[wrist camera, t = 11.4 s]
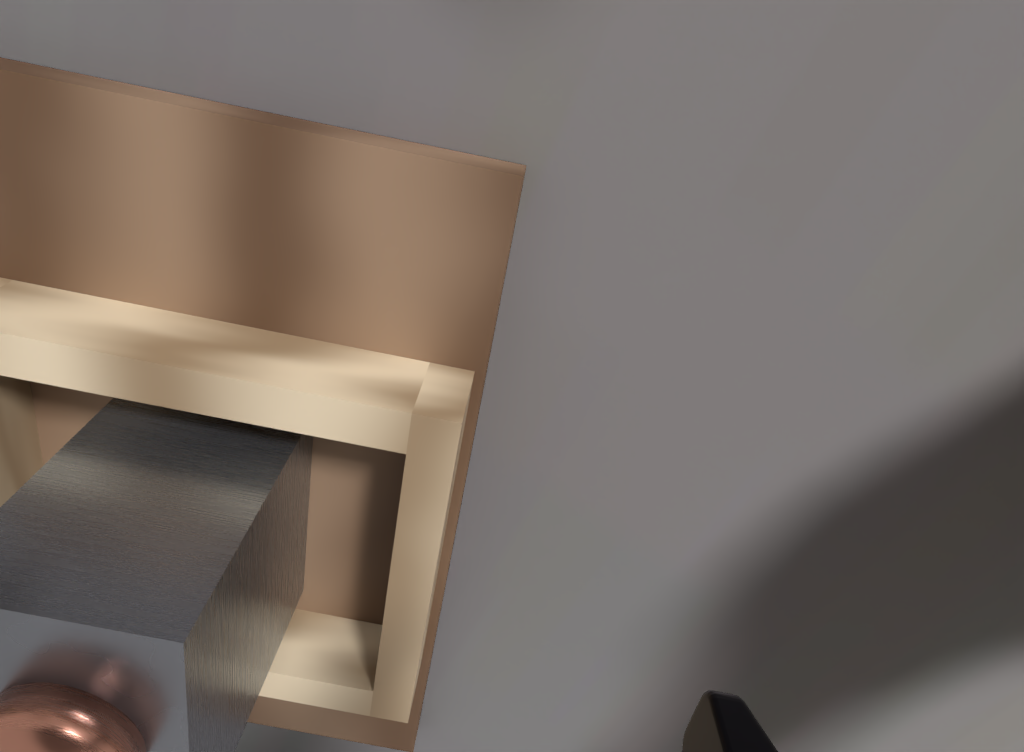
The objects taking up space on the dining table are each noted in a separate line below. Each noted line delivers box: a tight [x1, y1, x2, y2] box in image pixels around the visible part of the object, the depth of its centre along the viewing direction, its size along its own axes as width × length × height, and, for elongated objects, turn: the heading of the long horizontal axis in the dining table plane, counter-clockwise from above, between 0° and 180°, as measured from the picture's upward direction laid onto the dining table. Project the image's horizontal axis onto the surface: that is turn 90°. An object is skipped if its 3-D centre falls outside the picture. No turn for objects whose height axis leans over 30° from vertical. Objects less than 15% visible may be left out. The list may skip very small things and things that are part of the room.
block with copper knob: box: [0, 398, 313, 752], centre depth 19 cm, size 5×7×9 cm
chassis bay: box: [0, 58, 526, 752], centre depth 22 cm, size 14×22×4 cm, turn 169°
